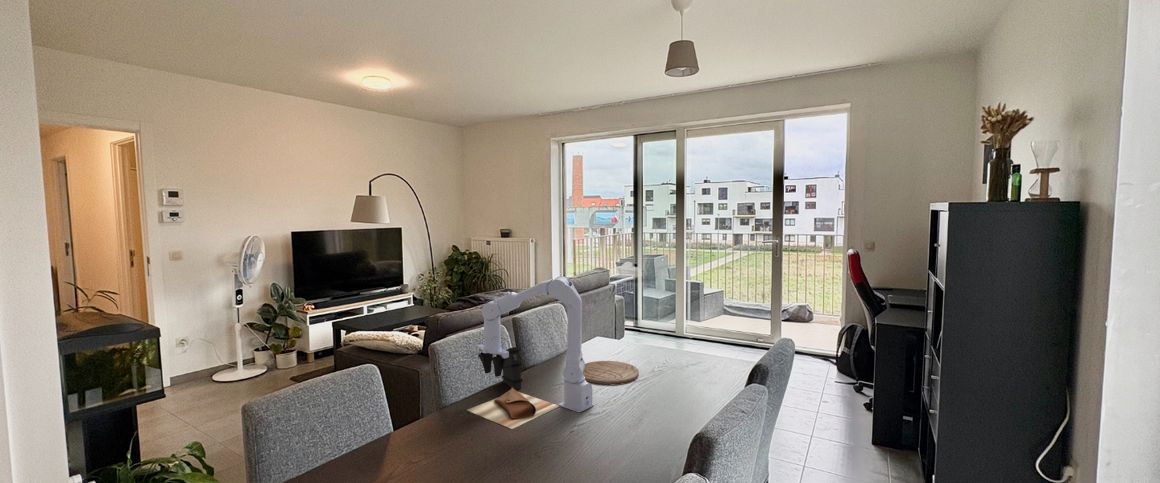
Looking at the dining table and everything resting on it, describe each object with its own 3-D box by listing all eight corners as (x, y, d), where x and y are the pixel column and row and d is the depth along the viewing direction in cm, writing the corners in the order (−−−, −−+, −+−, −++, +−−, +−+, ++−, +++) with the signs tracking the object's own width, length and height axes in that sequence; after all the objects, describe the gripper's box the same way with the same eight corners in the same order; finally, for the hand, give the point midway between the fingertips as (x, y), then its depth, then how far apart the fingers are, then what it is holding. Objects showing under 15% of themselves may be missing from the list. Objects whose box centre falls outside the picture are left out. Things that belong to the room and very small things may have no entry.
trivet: (599, 361, 212) (599, 357, 212) (649, 372, 197) (649, 367, 197) (564, 377, 191) (564, 372, 191) (618, 390, 177) (618, 385, 177)
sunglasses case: (491, 400, 165) (500, 382, 166) (508, 406, 168) (516, 388, 170) (512, 419, 150) (522, 399, 151) (529, 425, 153) (539, 406, 155)
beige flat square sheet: (560, 406, 161) (560, 406, 161) (511, 429, 144) (511, 428, 144) (515, 391, 175) (515, 390, 175) (466, 410, 158) (466, 409, 158)
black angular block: (516, 388, 173) (509, 347, 178) (504, 393, 184) (497, 354, 188) (526, 386, 175) (518, 346, 180) (513, 391, 186) (506, 353, 190)
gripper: (470, 334, 167) (470, 372, 167) (497, 341, 157) (497, 382, 158) (485, 331, 172) (486, 367, 173) (513, 337, 163) (513, 376, 164)
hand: (492, 374), depth 166 cm, fingers open, 5 cm apart
